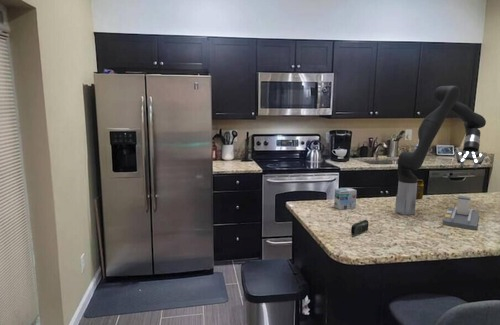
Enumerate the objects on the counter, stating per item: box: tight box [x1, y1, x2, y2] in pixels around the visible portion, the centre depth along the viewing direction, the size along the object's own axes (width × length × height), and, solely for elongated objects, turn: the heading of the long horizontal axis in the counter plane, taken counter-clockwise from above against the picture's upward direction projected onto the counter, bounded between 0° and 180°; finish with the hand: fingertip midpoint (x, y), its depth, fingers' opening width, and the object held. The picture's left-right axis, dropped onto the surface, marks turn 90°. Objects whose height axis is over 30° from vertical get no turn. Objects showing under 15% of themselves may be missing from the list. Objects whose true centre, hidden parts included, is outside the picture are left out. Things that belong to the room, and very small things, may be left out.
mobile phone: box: [350, 219, 369, 238], centre depth 157 cm, size 5×3×15 cm
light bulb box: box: [333, 187, 357, 211], centre depth 196 cm, size 11×7×11 cm, turn 105°
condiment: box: [416, 178, 425, 201], centre depth 217 cm, size 7×8×12 cm
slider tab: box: [456, 195, 471, 215], centre depth 178 cm, size 4×5×9 cm
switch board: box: [442, 206, 480, 231], centre depth 176 cm, size 28×14×4 cm, turn 145°
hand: (468, 168), depth 186 cm, fingers open, 5 cm apart
